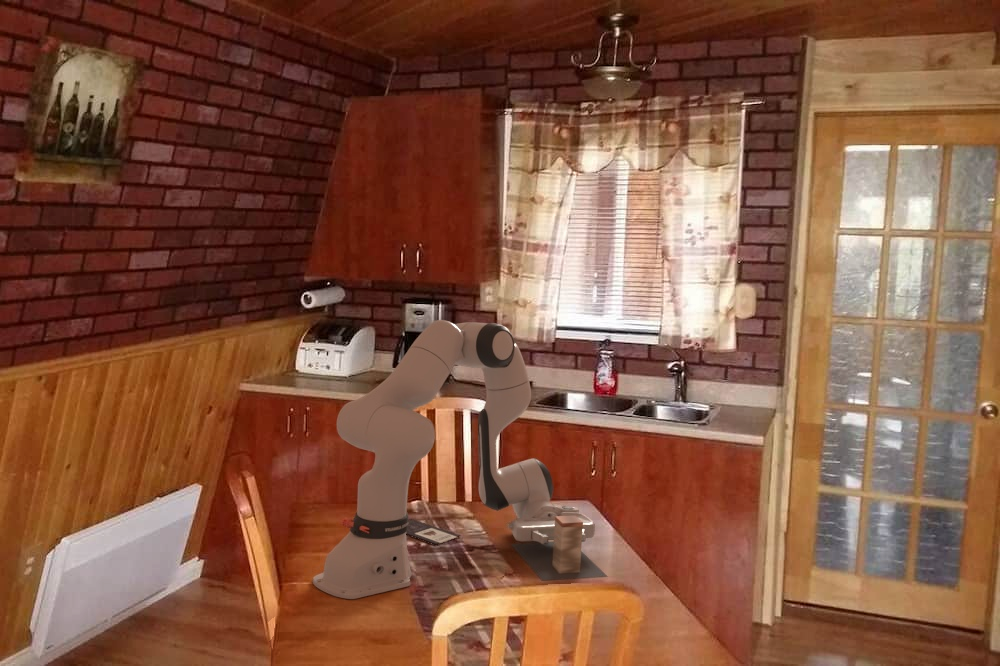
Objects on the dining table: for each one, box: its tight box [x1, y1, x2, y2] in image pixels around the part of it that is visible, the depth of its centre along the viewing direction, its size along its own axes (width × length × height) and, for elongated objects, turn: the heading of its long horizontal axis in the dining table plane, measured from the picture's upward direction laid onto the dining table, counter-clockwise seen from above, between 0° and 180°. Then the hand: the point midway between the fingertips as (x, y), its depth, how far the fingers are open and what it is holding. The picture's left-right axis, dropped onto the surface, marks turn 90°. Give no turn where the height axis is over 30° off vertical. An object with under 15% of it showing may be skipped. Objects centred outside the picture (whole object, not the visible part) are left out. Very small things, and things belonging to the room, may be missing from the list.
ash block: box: [552, 515, 583, 573], centre depth 213 cm, size 5×5×12 cm
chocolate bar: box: [406, 518, 461, 546], centre depth 236 cm, size 9×1×18 cm
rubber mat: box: [510, 541, 608, 582], centre depth 219 cm, size 24×16×1 cm, turn 17°
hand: (564, 539), depth 215 cm, fingers open, 8 cm apart
